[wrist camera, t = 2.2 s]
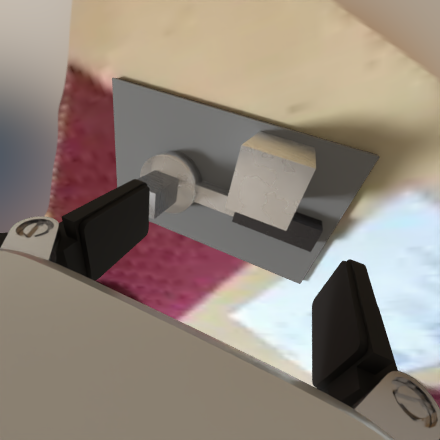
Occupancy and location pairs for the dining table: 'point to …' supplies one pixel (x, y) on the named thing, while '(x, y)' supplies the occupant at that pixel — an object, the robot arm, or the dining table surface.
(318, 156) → the tool mat
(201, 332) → the robot arm
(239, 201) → the light grey block
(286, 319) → the dining table surface
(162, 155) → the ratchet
